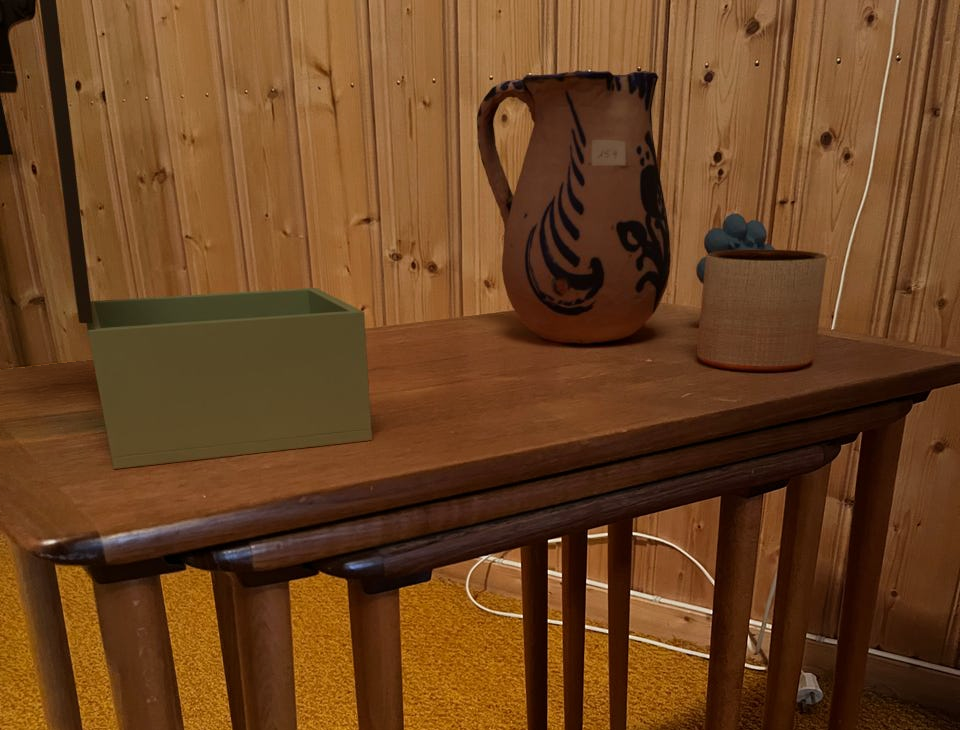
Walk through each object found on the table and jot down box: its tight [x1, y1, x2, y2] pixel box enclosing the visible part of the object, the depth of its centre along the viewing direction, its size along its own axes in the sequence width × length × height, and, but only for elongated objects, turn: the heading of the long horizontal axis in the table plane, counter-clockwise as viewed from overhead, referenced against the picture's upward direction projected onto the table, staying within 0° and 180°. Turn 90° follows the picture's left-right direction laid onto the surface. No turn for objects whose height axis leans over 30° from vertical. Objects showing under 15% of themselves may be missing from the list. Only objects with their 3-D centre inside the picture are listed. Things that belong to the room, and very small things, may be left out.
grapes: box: [696, 212, 776, 285], centre depth 108 cm, size 12×7×12 cm, turn 120°
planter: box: [696, 249, 828, 373], centre depth 91 cm, size 11×11×10 cm
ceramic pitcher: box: [476, 70, 672, 345], centre depth 101 cm, size 18×21×25 cm
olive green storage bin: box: [85, 287, 373, 470], centre depth 71 cm, size 18×15×9 cm
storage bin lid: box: [38, 0, 93, 324], centre depth 62 cm, size 18×15×1 cm
